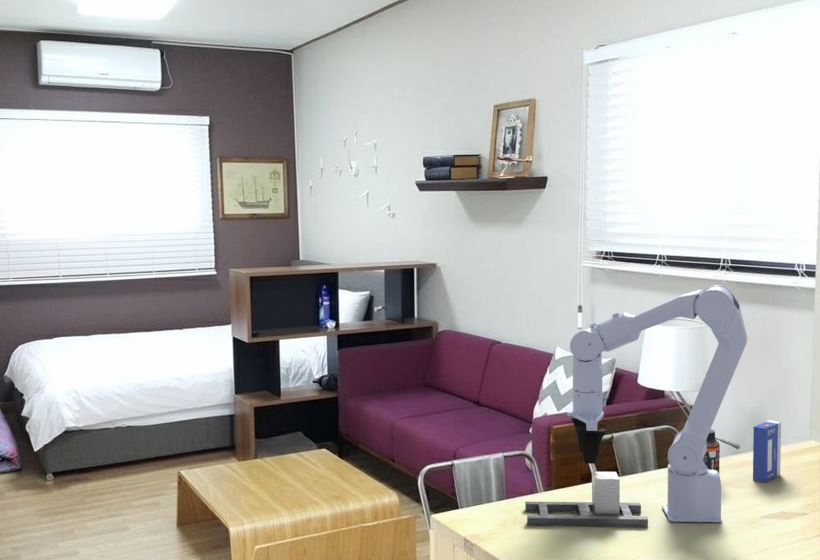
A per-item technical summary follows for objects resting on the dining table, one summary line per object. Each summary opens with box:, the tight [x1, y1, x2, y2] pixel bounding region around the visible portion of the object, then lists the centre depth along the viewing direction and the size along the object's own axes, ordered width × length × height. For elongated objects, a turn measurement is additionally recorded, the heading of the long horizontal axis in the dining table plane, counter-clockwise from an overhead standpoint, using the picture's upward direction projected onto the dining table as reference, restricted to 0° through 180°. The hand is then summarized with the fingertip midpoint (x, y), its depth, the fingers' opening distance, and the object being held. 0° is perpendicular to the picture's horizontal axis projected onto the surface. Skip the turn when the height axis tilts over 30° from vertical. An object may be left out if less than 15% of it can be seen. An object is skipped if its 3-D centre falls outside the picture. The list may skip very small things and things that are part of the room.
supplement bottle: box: [703, 428, 721, 474], centre depth 185 cm, size 6×6×11 cm
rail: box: [524, 501, 649, 528], centre depth 166 cm, size 22×9×2 cm, turn 85°
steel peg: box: [591, 471, 621, 516], centre depth 165 cm, size 4×4×8 cm
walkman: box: [752, 419, 782, 483], centre depth 187 cm, size 8×3×12 cm, turn 134°
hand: (587, 457), depth 173 cm, fingers open, 7 cm apart
